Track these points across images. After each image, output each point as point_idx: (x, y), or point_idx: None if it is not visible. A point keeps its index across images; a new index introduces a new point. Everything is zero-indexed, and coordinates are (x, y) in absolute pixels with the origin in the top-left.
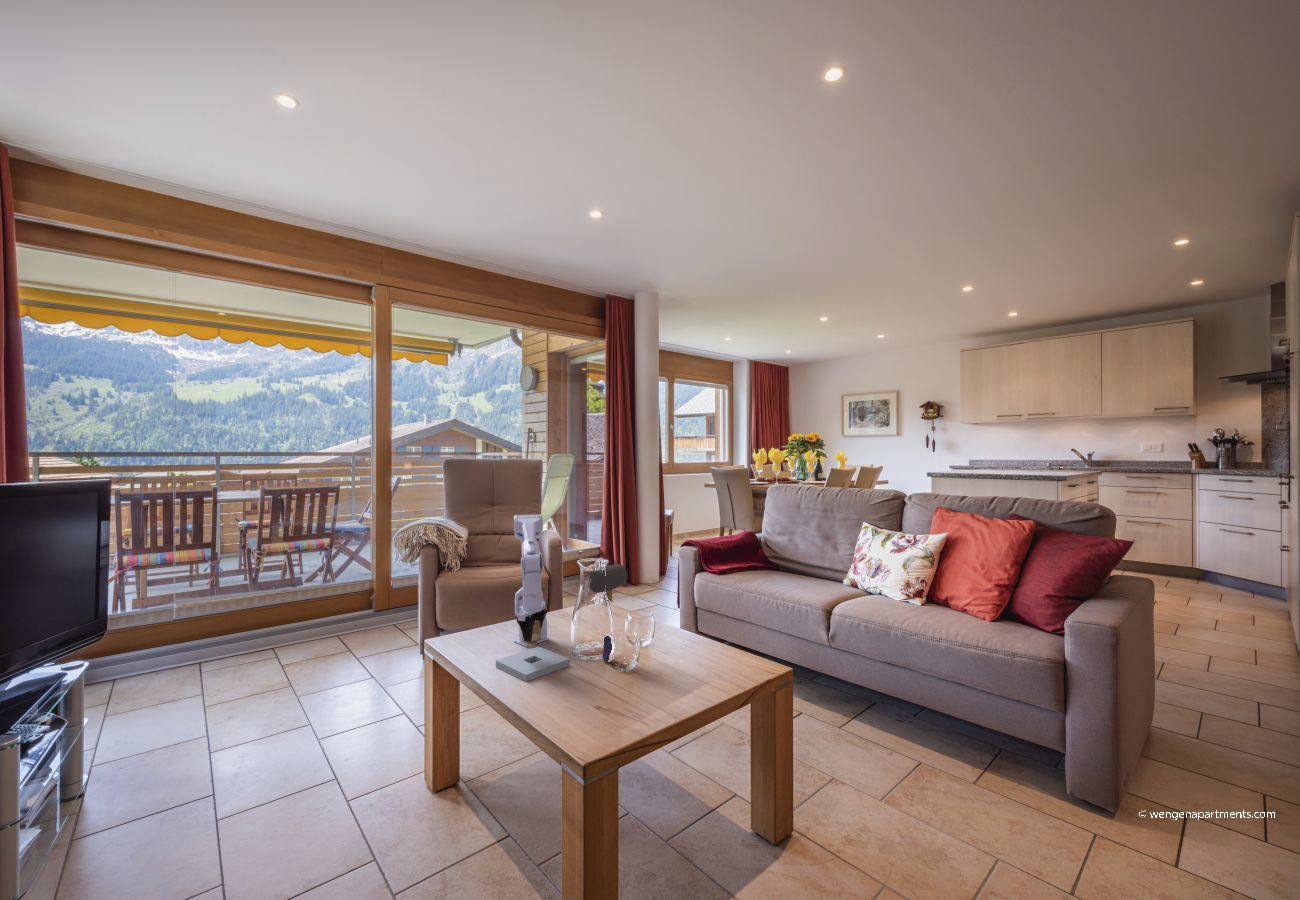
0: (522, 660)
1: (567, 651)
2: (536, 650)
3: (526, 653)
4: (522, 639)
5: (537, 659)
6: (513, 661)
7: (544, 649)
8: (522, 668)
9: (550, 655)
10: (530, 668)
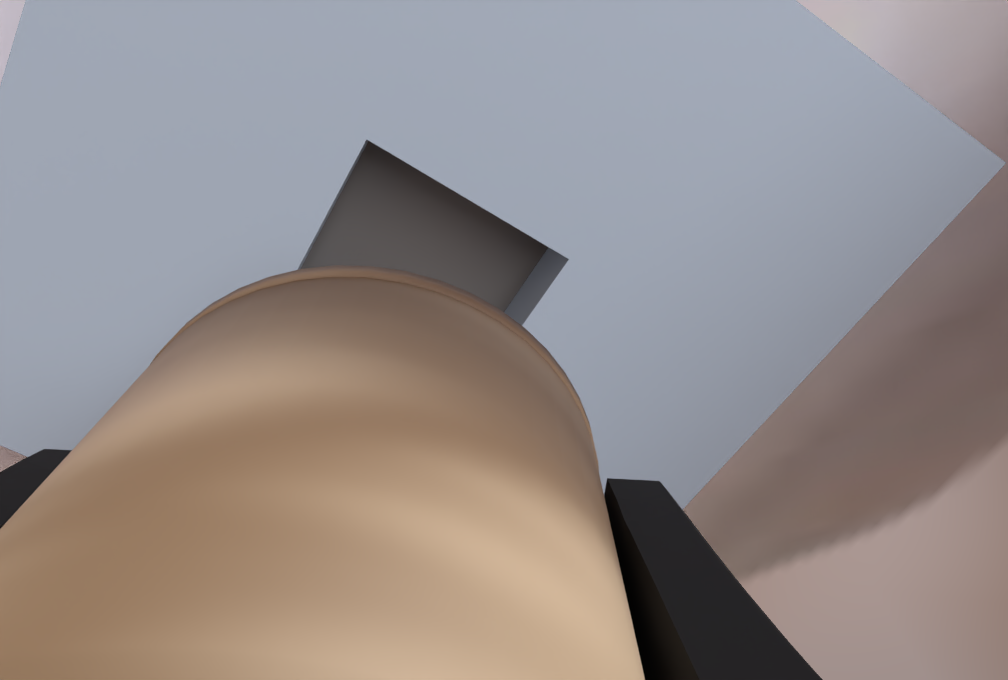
0: (338, 150)
1: (945, 482)
2: (804, 201)
3: (658, 82)
4: (208, 314)
5: (523, 305)
6: (253, 3)
7: (844, 309)
8: (59, 280)
9: (606, 463)
10: (111, 382)
